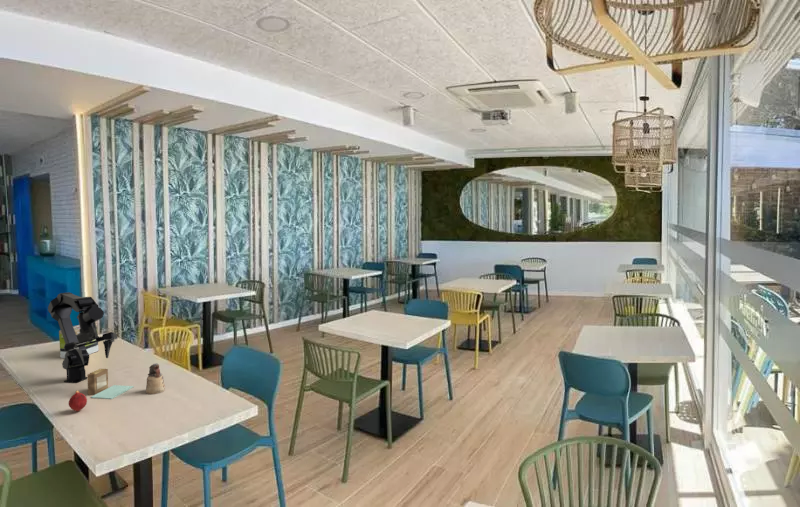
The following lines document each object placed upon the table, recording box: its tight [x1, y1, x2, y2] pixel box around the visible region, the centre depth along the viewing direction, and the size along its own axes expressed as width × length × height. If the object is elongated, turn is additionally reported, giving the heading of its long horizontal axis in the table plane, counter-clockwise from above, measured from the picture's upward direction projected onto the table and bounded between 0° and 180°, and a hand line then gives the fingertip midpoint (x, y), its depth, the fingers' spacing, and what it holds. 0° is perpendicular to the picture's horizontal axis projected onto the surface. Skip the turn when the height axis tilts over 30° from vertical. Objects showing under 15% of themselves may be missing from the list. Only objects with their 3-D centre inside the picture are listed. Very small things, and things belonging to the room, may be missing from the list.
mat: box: [90, 384, 134, 400], centre depth 205 cm, size 9×14×1 cm, turn 175°
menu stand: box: [86, 368, 109, 396], centre depth 205 cm, size 3×8×9 cm, turn 175°
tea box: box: [58, 324, 99, 359], centre depth 256 cm, size 15×10×15 cm, turn 172°
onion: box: [68, 390, 88, 412], centre depth 185 cm, size 6×6×8 cm
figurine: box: [145, 363, 166, 395], centre depth 207 cm, size 7×7×12 cm
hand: (95, 361), depth 206 cm, fingers open, 9 cm apart
